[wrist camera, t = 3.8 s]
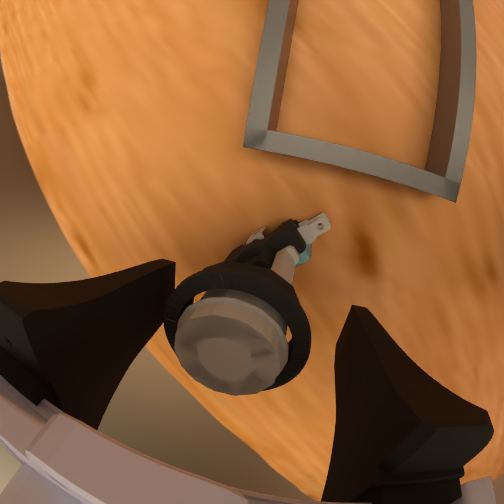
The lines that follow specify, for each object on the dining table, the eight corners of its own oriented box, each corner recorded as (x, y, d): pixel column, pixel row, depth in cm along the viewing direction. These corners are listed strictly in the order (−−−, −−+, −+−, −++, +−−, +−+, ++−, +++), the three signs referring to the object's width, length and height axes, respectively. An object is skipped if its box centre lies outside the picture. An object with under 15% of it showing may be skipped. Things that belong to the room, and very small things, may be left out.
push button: (303, 177, 16) (286, 226, 7) (350, 253, 17) (375, 371, 8) (214, 235, 18) (124, 324, 9) (261, 300, 19) (215, 419, 10)
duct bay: (453, 1, 9) (470, -16, 6) (434, 192, 14) (455, 202, 11) (289, -43, 10) (283, -68, 7) (255, 146, 16) (242, 147, 13)
